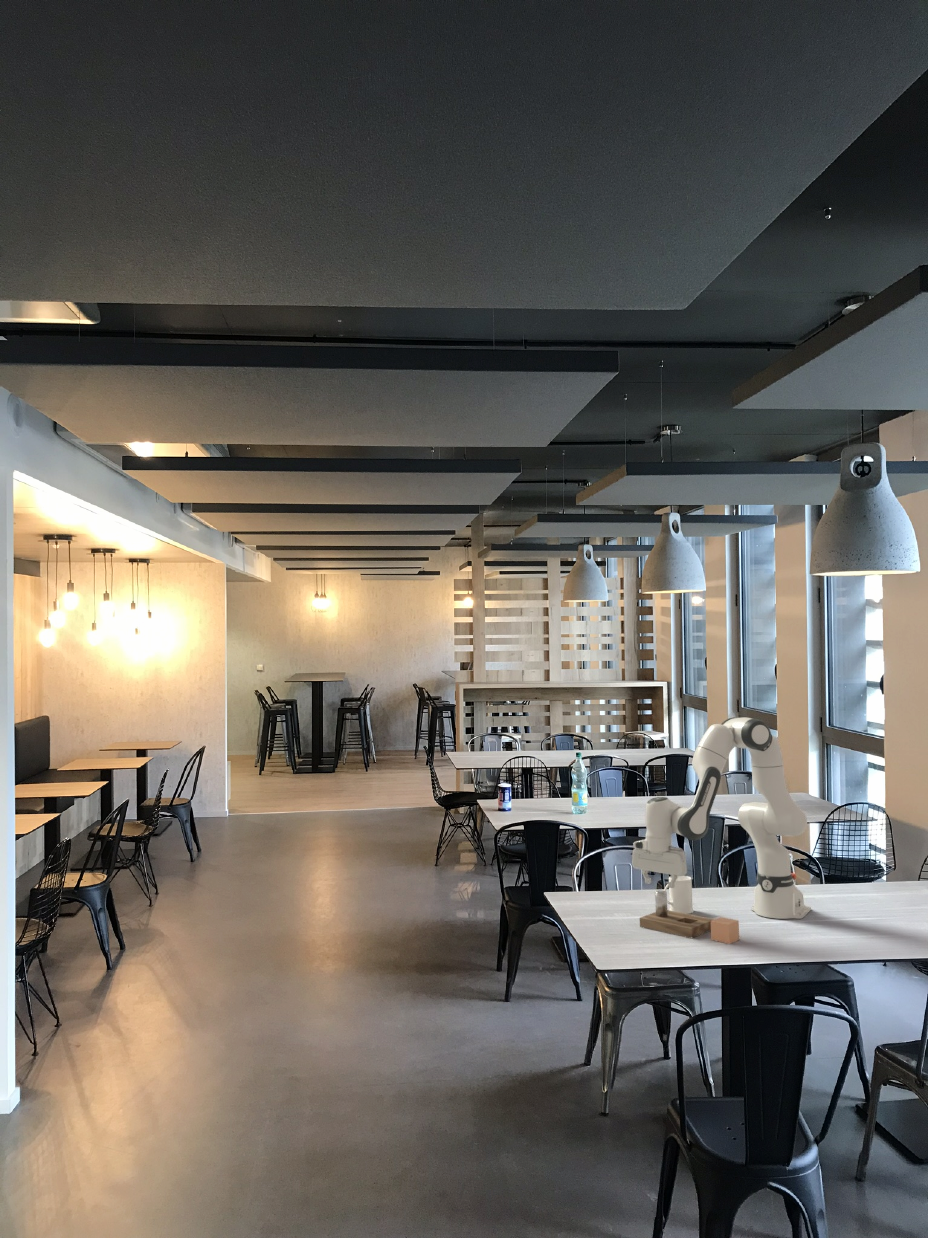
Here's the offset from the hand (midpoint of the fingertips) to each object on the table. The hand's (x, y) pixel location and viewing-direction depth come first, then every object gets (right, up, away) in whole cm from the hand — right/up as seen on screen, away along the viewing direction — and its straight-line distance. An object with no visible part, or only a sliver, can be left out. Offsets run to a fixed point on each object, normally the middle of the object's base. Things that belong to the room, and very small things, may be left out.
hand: (659, 885), depth 295 cm
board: (+5, -13, -5) cm, 15 cm away
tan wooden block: (+17, -11, -20) cm, 28 cm away
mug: (+10, -15, +15) cm, 23 cm away
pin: (+1, -10, -1) cm, 10 cm away
